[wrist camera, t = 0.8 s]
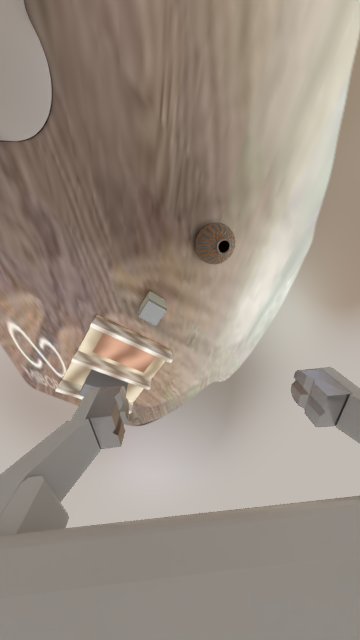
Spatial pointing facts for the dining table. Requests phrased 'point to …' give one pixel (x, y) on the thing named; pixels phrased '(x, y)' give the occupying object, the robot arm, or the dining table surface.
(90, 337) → the rack
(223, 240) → the vase
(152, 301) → the grey rectangular block
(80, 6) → the dining table surface
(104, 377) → the charcoal block
